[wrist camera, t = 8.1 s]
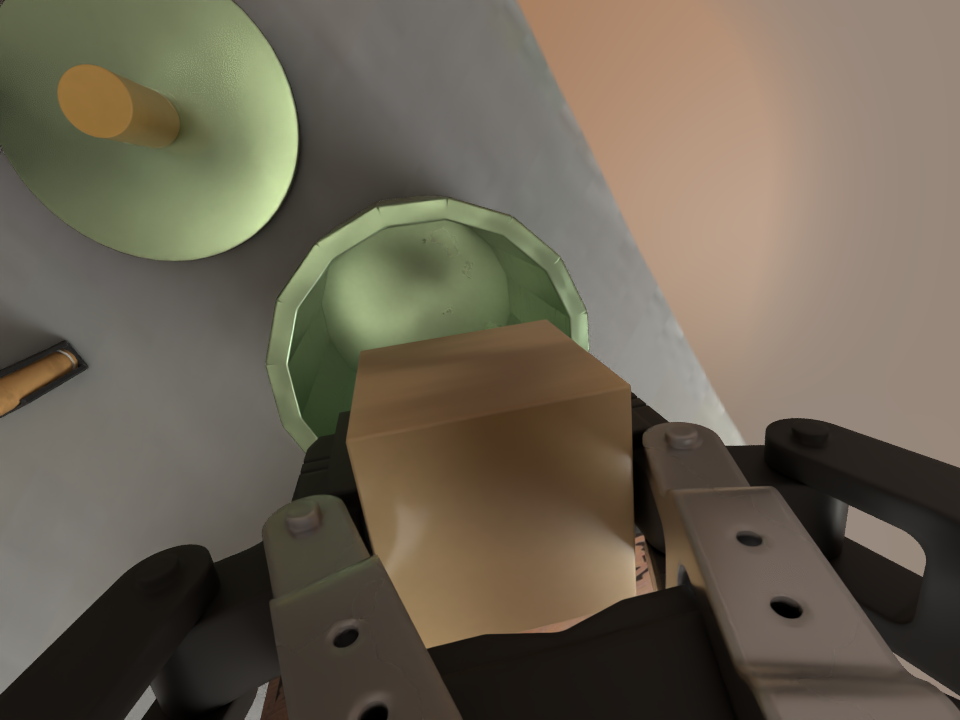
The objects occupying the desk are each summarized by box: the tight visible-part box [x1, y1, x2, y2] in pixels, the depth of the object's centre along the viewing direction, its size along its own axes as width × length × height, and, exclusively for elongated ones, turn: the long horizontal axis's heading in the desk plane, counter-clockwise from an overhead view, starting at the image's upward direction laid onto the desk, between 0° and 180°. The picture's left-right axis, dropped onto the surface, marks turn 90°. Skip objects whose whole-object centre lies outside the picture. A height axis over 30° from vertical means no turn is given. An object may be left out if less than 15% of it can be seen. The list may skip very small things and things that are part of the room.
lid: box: [0, 0, 300, 261], centre depth 22 cm, size 14×14×6 cm
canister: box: [266, 195, 589, 453], centre depth 25 cm, size 13×13×12 cm
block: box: [346, 319, 636, 649], centre depth 11 cm, size 4×4×4 cm
